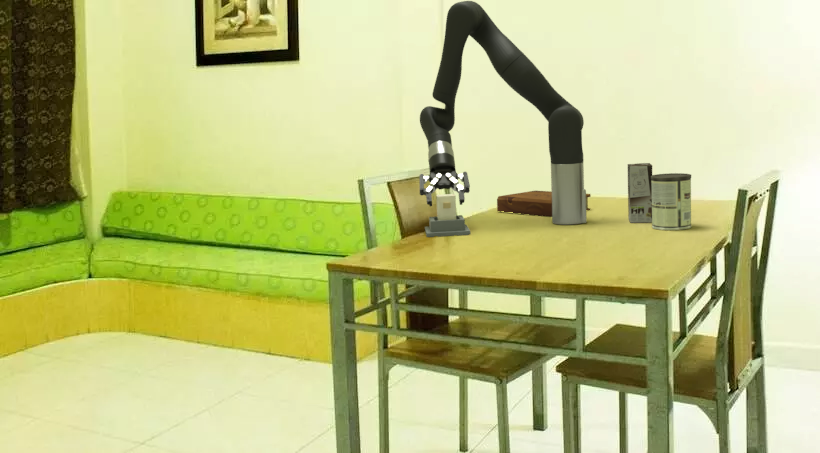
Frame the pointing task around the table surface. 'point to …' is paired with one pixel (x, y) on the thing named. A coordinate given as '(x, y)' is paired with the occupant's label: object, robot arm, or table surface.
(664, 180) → the coffee can
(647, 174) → the coffee box
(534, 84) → the robot arm
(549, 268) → the table surface
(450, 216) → the cream block
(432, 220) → the grey stepped pedestal
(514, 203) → the diary
